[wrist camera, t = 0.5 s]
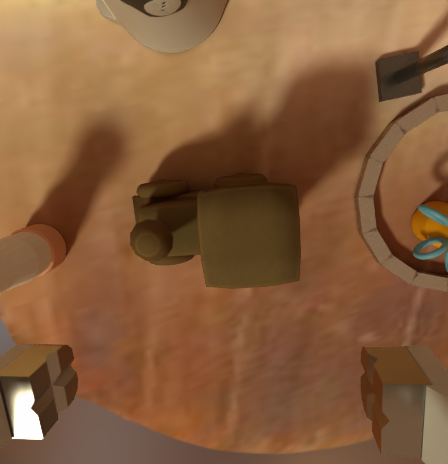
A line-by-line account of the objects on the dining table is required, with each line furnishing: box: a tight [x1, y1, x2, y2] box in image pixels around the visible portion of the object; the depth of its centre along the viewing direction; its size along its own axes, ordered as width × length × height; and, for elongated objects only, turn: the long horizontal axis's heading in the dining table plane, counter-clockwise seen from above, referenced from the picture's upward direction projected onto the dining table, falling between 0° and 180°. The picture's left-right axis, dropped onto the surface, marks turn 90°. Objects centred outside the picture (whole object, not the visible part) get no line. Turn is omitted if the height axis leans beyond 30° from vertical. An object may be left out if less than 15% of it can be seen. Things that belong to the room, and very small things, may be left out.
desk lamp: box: [375, 45, 448, 102], centre depth 36 cm, size 6×5×18 cm
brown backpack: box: [130, 173, 301, 289], centre depth 42 cm, size 20×11×17 cm, turn 95°
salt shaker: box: [0, 224, 66, 294], centre depth 43 cm, size 7×7×19 cm
